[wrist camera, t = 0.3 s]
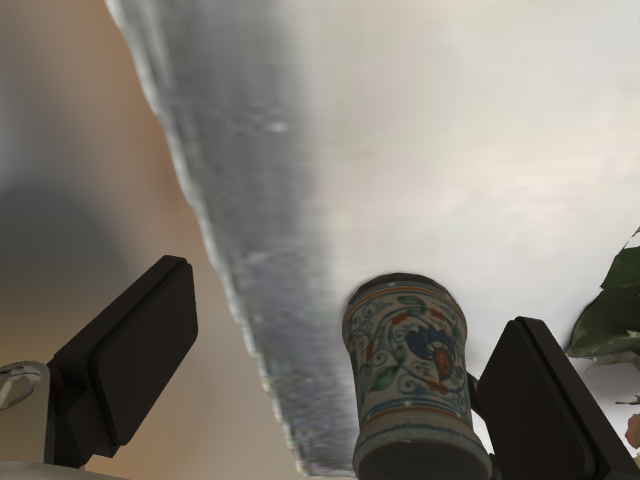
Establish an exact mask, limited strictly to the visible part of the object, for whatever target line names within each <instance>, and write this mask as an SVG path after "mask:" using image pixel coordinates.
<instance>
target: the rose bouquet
mask: <svg viewBox="0 0 640 480" xmlns="http://www.w3.org/2000/svg"><path fill="white" fill-rule="evenodd" d="M638 232H640V227H639V228H638V230H637V231H636V232H635V233H634V235H635V234H636V233H638ZM634 235H633V236H634ZM633 236H632V237H633ZM632 237H631V238H632ZM627 243H628V242H627ZM625 246H626V245H625ZM625 246H624V247H625ZM624 247H623V248H624ZM600 287H601V288H602V289H604V291H602V292H601V294H600V296H599V297H598V298H597V300H596V301H595V302H594V303H593V305H592V306H590V307H589V308H588V309H587V310H586V311H585V313H584V314H583V315H582V317H581V319H580V320H579V321H578V323H577V324H576V327H575V329H574V333H573V339H572V343H571V347H570V348H569V349H568V350H567V351H566V352H565V355H566V356H568V357H572V358H585V359H591V360H593V359H592V358H594V357H597V361H596V362H595V363H593V364H592V365H591V366H599V365H607V364H616V363H625V362H633V363H634V364H635V366H636V367H637V368H638V369H639V371H640V246H638V247H633V248H626V249H622V250H621V251H620V253H619V254H618V255H617V256H616V257H615V260H614V262H613V264H612V267H611V269H610V271H609V273H608V275H607V276H606V278H605V280H604V282H603V283H602V285H601V286H600ZM589 368H590V367H589ZM589 368H588V369H589ZM588 369H587V370H588ZM587 370H586V371H587ZM586 371H585V372H586ZM584 374H585V373H584ZM634 396H636V395H634ZM636 397H637V401H633V402H629V403H624V402H615V404H630V405H636V404H640V396H636ZM625 437H626V438H627V440H628V443H629V444H630V445H631V446H632V447H633V448H635V449H637V448H638V447H640V414H633V416H632V417H631V418H629V420H628V430H627V432H626V433H625ZM637 455H638V456H637V457H635V458H633V459H634V461H635V462H636V464H637V465H638V467H639V469H640V453H637Z"/></svg>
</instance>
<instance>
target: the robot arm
mask: <svg viewBox="0 0 640 480" xmlns="http://www.w3.org/2000/svg"><path fill="white" fill-rule="evenodd" d="M197 334H198V323H197V313H196V302H195V292H194V282H193V270H192V266H191V264H188V263H187V260H186V259H185V258H182V257H176V256H170V255H165V256H163V257H162V258H161V259H160V260H159V261H158V262H156V263H155V264H154V265H153V266H152V267H151V268H150V269H148V271H146V272H145V273H144V274H143V275H142V276H141V277H140V278H139V279H137V280H136V281H135V282H134V283H133V284H132V285H131V286H130V287H129V288H128V289H127V290H125V291H124V292H123V293H122V294H121V295H120V296H119V297H118V298H116V299H115V300H114V301H113V302H112V303H111V304H110V305H109V306H108V307H106V308H105V309H104V310H103V311H102V312H101V313H100V314H99V315H98V316H97V317H96V318H94V319H93V320H92V321H91V322H90V323H89V324H88V325H87V326H86V327H84V328H83V329H82V330H81V331H80V332H79V333H78V334H77V335H76V336H75V337H73V338H72V339H71V340H70V341H69V342H68V343H67V344H66V345H64V346H63V347H62V348H61V349H60V350H59V351H58V352H57V353H56V354H55V355H54V358H53V359H52V360H51V361H50V362H49V363H47V364H46V365H45V364H44V363H41V362H38V361H35V360H33V361H31V360H24V361H19V362H14V363H10V364H7V365H4V366H2V367H0V480H128V479H123V478H118V477H113V476H109V475H104V474H99V473H94V472H89V471H85V464H86V463H87V462H88V461H89V459H90V458H91V456H92V455H93V454H96V455H100V456H105V457H109V458H113V456H114V455H115V453H116V451H117V450H118V449H119V447H120V446H121V445H122V446H124V445H126V444H127V443H128V442H129V441H130V440H131V438H132V437H133V435H134V434H135V432H136V431H137V429H138V428H139V426H140V425H141V423H142V422H143V420H144V419H145V417H146V415H147V414H148V412H149V411H150V409H151V408H152V406H153V405H154V403H155V402H156V400H157V398H158V397H159V395H160V394H161V392H162V391H163V389H164V388H165V386H166V385H167V383H168V382H169V380H170V379H171V377H172V376H173V374H174V373H175V371H176V370H177V368H178V366H179V365H180V363H181V362H182V360H183V359H184V357H185V356H186V354H187V353H188V351H189V350H190V348H191V347H192V345H193V343H194V342H195V340H196V337H197ZM477 397H478V400H479V404H480V407H481V410H482V414H483V417H484V420H485V423H486V427H487V430H488V433H489V437H490V440H491V443H492V446H493V450H494V453H495V456H496V460H497V463H498V466H499V469H500V473H501V476H502V479H503V480H640V469H639V467H638V465H637V464H636V462H635V461H634V459H633V458H632V456H631V455H630V453H629V452H628V450H627V449H626V447H625V446H624V444H623V442H622V441H621V439H620V438H619V436H618V435H617V433H616V432H615V430H614V429H613V427H612V426H611V424H610V422H609V421H608V419H607V418H606V416H605V415H604V413H603V412H602V410H601V409H600V407H599V406H598V404H597V402H596V401H595V399H594V398H593V396H592V395H591V393H590V392H589V390H588V389H587V387H586V386H585V384H584V383H583V381H582V379H581V378H580V376H579V375H578V373H577V372H576V370H575V369H574V367H573V366H572V364H571V363H570V361H569V359H568V358H567V356H566V355H565V353H564V352H563V350H562V349H561V347H560V346H559V344H558V343H557V341H556V339H555V338H554V336H553V335H552V333H551V332H550V330H549V329H548V327H547V326H546V324H545V323H544V322H543V321H542V320H539V319H533V318H527V317H522V316H518V317H516V318H515V320H510V321H509V322H508V323H507V325H506V327H505V329H504V331H503V333H502V335H501V337H500V339H499V341H498V343H497V345H496V347H495V349H494V351H493V353H492V355H491V357H490V359H489V361H488V363H487V365H486V367H485V369H484V371H483V373H482V375H481V377H480V379H479V381H478V384H477Z"/></svg>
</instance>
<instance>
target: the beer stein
mask: <svg viewBox="0 0 640 480" xmlns="http://www.w3.org/2000/svg"><path fill="white" fill-rule="evenodd" d="M342 335H343V341H344V344H345V346H346V349H347V350H348V352H349V355H350V359H351V363H352V369H353V375H354V382H355V391H356V399H357V409H358V419H359V427H360V435H359V436H358V438H357V442H356V446H355V451H354V455H353V462H352V465H353V469H354V472H355V474H356V476H357V478H358V480H503V479H502V476H501V473H500V469H499V466H498V463H497V460H496V456H495V455H494V454H492V453H490V454H489V455H488V453H487V451H486V449H485V448H484V446H483V444H482V442H481V440H480V439H479V437H478V436H477V435H476V434H475V433H474V430H473V423H472V414H471V409H472V410H473V411H474V412H476V413H477V414H478V415H479V416H480V417H481V418H482V419H483V420H484V417H483V414H482V410H481V407H480V404H479V400H478V397H477V384H478V381H479V380H477V379H476V378H475V377H473V376H472V375H471V374H469V373H468V372H467V371H466V365H465V352H464V350H465V343H466V339H467V323H466V319H465V316H464V314H463V312H462V310H461V308H460V307H459V305H458V304H457V303H456V302H455V300H454V299H453V298H452V297H451V295H450V294H449V292H448V291H447V290H446V288H444V287H443V286H441V285H440V284H438V283H437V282H435V281H434V280H432V279H430V278H427V277H424V276H421V275H415V274H405V273H394V274H388V275H382V276H379V277H377V278H375V279H373V280H372V281H370V282H368V283H366V284H365V285H363V286H361V287H360V288H359V290H358V291H357V293H356V294H355V295H354V297H353V298H352V299H351V301H350V302H349V305H348V309H347V311H346V313H345V316H344V319H343V324H342ZM484 422H485V420H484Z"/></svg>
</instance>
